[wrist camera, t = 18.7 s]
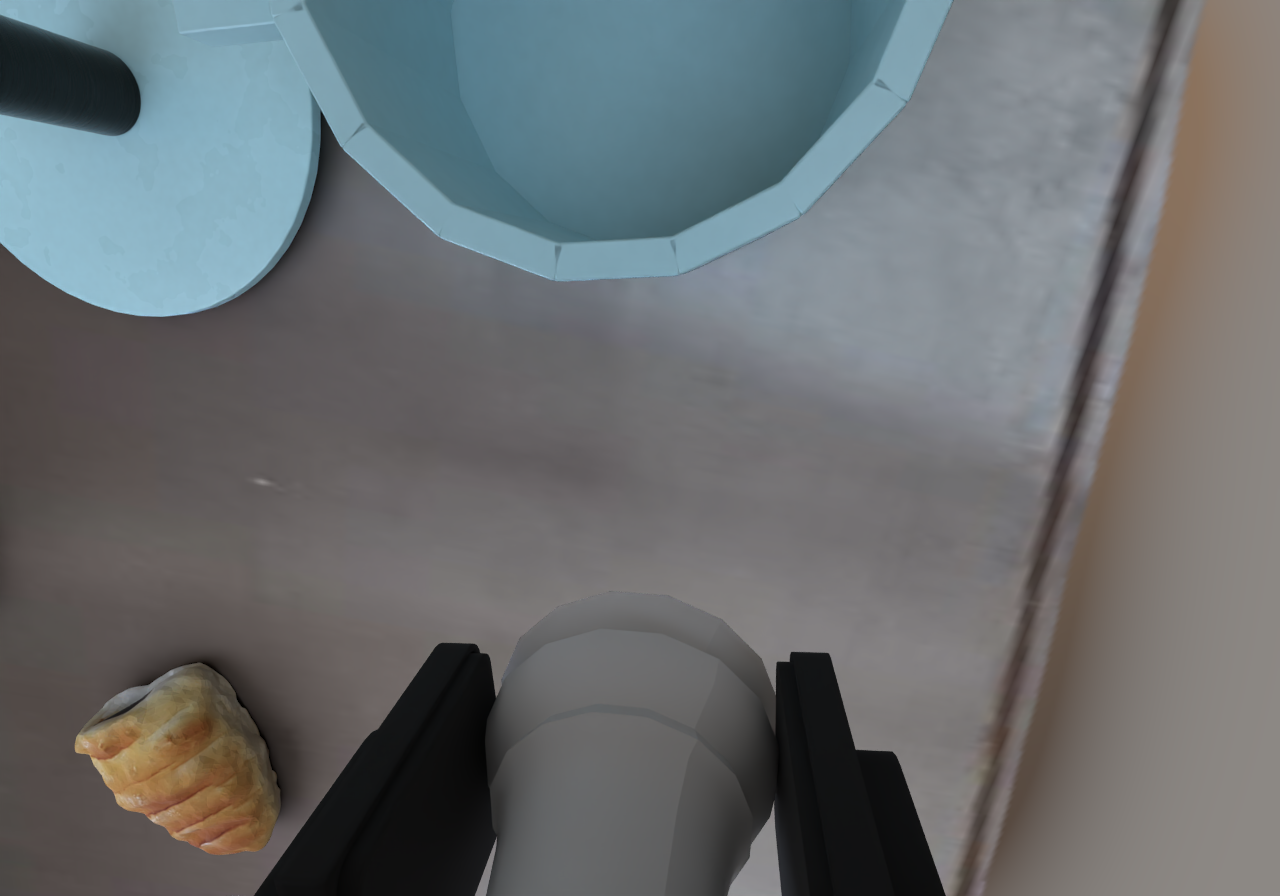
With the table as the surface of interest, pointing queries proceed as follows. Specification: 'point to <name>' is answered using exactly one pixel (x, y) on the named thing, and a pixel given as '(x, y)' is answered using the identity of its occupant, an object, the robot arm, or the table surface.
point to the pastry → (187, 760)
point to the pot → (597, 113)
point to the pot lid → (148, 155)
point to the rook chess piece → (629, 752)
